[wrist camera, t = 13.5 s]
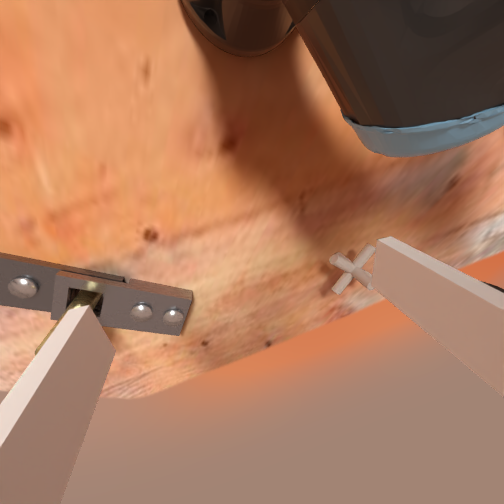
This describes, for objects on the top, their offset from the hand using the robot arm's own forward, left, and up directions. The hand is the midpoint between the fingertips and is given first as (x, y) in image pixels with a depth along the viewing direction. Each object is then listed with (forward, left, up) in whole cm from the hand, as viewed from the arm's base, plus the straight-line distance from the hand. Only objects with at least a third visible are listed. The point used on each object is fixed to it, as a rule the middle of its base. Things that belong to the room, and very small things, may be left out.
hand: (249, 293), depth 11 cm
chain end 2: (+16, -17, -27) cm, 35 cm away
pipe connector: (+17, +21, -27) cm, 38 cm away
